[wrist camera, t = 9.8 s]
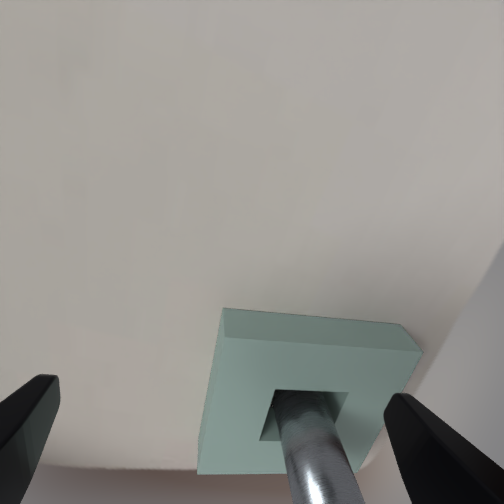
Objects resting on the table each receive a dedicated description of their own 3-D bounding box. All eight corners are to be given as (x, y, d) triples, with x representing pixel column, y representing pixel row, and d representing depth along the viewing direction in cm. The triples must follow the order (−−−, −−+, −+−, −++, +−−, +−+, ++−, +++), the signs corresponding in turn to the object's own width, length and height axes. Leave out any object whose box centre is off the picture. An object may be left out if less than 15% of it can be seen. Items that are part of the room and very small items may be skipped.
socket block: (343, 439, 30) (356, 472, 27) (198, 437, 27) (196, 474, 24) (400, 324, 24) (423, 352, 21) (222, 308, 21) (224, 337, 19)
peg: (309, 401, 27) (358, 550, 18) (264, 399, 26) (293, 554, 17) (322, 367, 25) (383, 512, 16) (275, 364, 24) (312, 514, 15)
